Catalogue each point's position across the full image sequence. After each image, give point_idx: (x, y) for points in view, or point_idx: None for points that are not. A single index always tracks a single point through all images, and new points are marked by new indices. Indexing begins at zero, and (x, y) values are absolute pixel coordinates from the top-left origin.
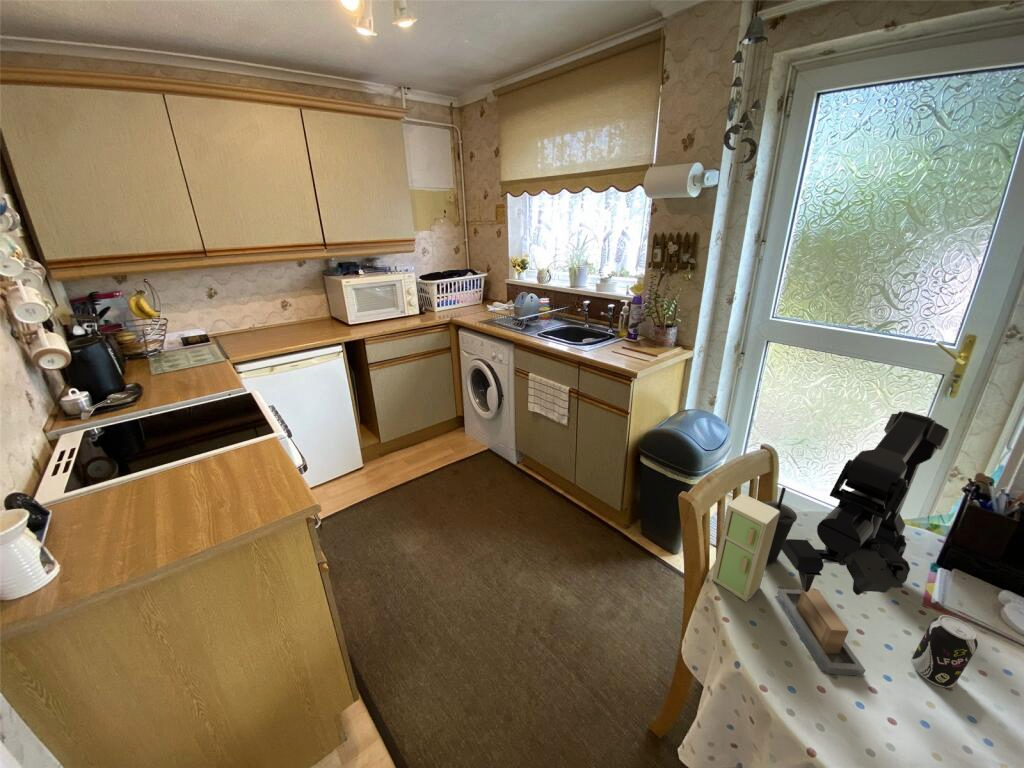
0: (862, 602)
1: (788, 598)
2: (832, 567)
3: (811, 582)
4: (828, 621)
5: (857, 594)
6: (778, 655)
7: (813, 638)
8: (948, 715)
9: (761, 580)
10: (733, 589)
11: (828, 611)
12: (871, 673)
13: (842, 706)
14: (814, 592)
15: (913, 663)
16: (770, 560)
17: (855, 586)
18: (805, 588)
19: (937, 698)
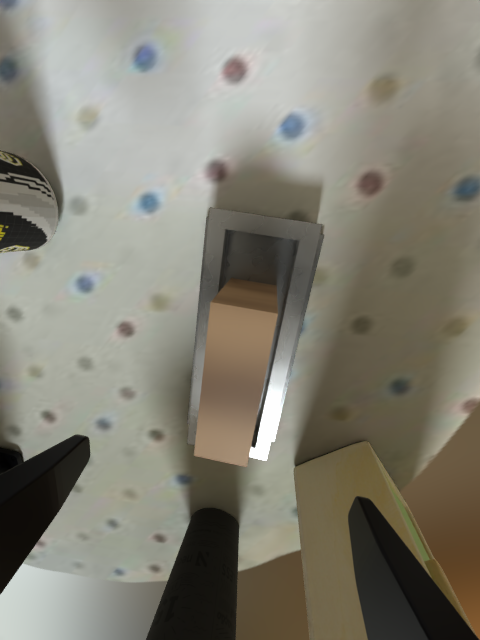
0: (67, 393)
1: (260, 433)
2: None
3: (439, 633)
4: (258, 347)
5: (82, 439)
6: (410, 293)
7: (289, 319)
8: (61, 82)
9: (297, 488)
10: (386, 476)
11: (222, 382)
12: (182, 218)
13: (350, 124)
14: (213, 450)
15: (52, 225)
16: (216, 520)
17: (62, 488)
18: (393, 533)
19: (57, 135)
